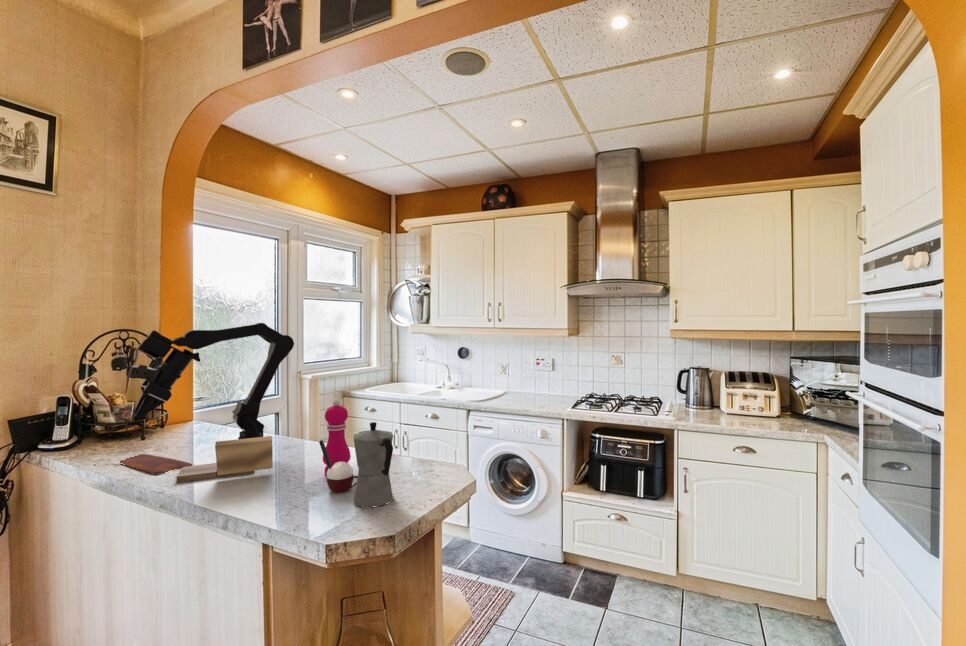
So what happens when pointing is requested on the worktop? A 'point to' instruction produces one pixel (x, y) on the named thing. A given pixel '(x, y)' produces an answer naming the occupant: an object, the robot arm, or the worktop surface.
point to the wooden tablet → (154, 463)
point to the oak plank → (244, 455)
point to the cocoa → (338, 473)
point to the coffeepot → (373, 467)
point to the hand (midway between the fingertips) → (136, 415)
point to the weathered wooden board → (202, 472)
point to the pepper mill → (336, 435)
